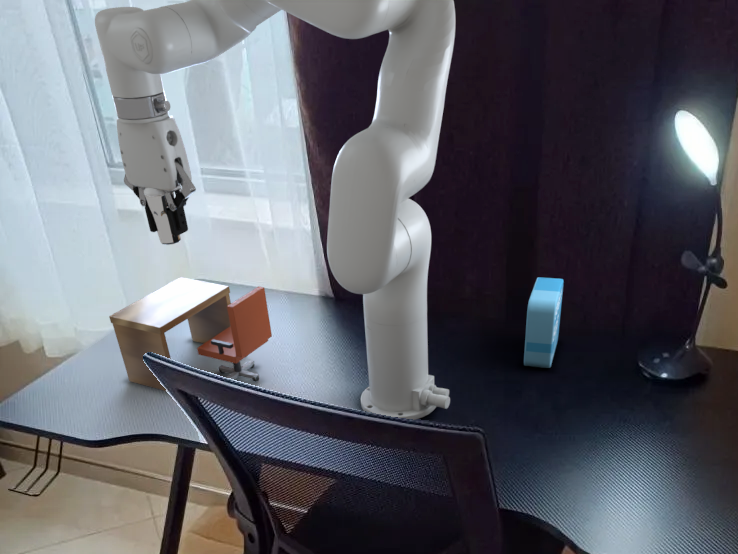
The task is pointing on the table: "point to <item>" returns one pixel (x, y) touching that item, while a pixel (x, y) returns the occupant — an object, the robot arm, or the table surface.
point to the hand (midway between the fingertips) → (169, 230)
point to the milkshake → (160, 215)
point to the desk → (168, 322)
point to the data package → (543, 322)
